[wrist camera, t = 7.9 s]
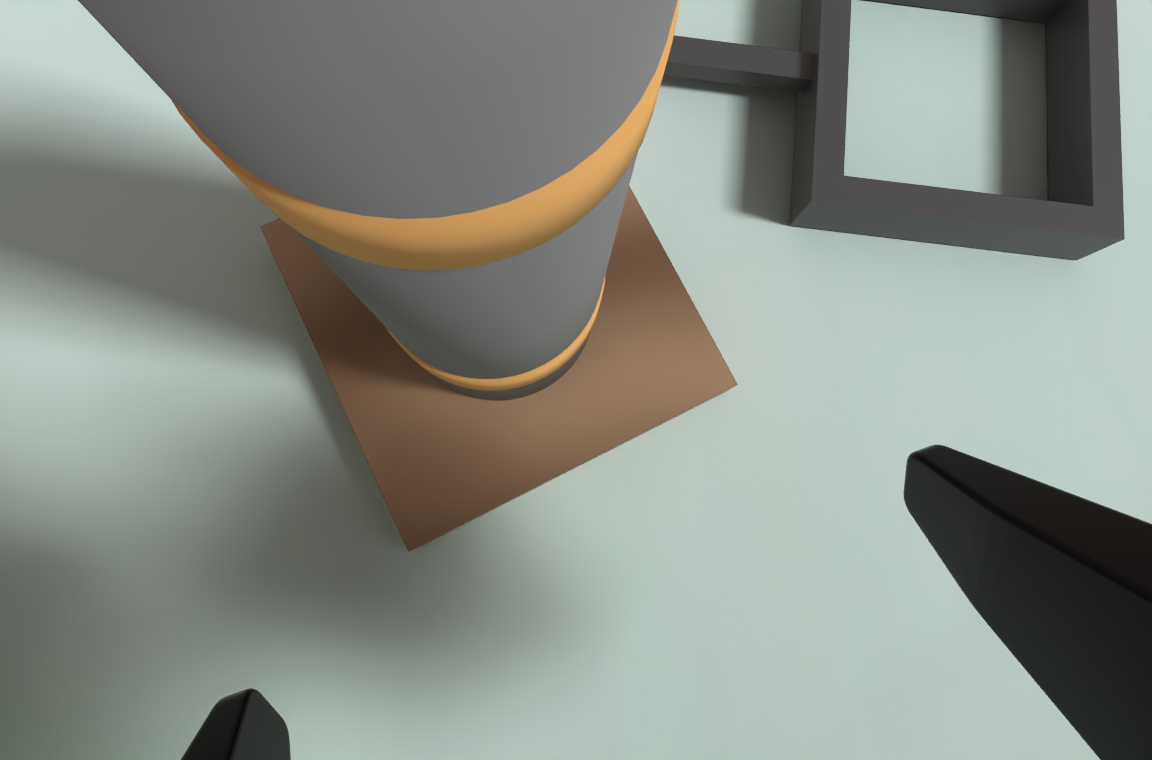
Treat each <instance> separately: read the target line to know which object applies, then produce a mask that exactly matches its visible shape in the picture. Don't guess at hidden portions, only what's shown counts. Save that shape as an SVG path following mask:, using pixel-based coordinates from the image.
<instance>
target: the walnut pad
mask: <svg viewBox="0 0 1152 760" xmlns="http://www.w3.org/2000/svg"><path fill="white" fill-rule="evenodd" d="M261 229H262V231H263V234H264V236H265V238H266V240H267V242H268V245H269V247H270V249H271V251H272V253H273V256H274V258H275V260H276V262H277V264H278V267H279V269H280V271H281V273H282V275H283V277H284V280H285V282H286V284H287V286H288V288H289V291H290V293H291V295H292V297H293V299H294V302H295V304H296V306H297V308H298V310H299V313H300V315H301V317H302V319H303V321H304V324H305V326H306V328H307V330H308V332H309V335H310V337H311V339H312V341H313V343H314V345H315V348H316V350H317V352H318V354H319V356H320V359H321V361H322V363H323V365H324V367H325V370H326V372H327V374H328V376H329V378H330V381H331V383H332V385H333V387H334V389H335V392H336V394H337V396H338V398H339V400H340V402H341V405H342V407H343V409H344V411H345V413H346V416H347V418H348V420H349V422H350V424H351V427H352V429H353V431H354V433H355V435H356V438H357V440H358V442H359V444H360V446H361V449H362V451H363V453H364V455H365V457H366V460H367V462H368V464H369V466H370V468H371V470H372V473H373V475H374V477H375V479H376V481H377V484H378V486H379V488H380V490H381V492H382V495H383V497H384V499H385V501H386V503H387V506H388V508H389V510H390V512H391V514H392V517H393V519H394V521H395V523H396V525H397V527H398V530H399V532H400V534H401V536H402V538H403V541H404V543H405V545H406V547H407V549H408V552H409V551H411V550H414V549H416V548H418V547H420V546H422V545H424V544H426V543H428V542H430V541H432V540H434V539H436V538H438V537H440V536H442V535H444V534H446V533H448V532H450V531H452V530H454V529H456V528H458V527H460V526H462V525H464V524H465V523H467V522H469V521H471V520H473V519H475V518H477V517H479V516H481V515H483V514H485V513H487V512H489V511H491V510H493V509H495V508H497V507H499V506H501V505H503V504H505V503H507V502H509V501H511V500H513V499H515V498H517V497H519V496H521V495H523V494H525V493H527V492H529V491H531V490H532V489H534V488H536V487H538V486H540V485H542V484H544V483H546V482H548V481H550V480H552V479H554V478H556V477H558V476H560V475H562V474H564V473H566V472H568V471H570V470H572V469H574V468H576V467H578V466H580V465H582V464H584V463H586V462H588V461H590V460H592V459H594V458H596V457H597V456H599V455H601V454H603V453H605V452H607V451H609V450H611V449H613V448H615V447H617V446H619V445H621V444H623V443H625V442H627V441H629V440H631V439H633V438H635V437H637V436H639V435H641V434H643V433H645V432H647V431H649V430H651V429H653V428H655V427H657V426H659V425H661V424H663V423H664V422H666V421H668V420H670V419H672V418H674V417H676V416H678V415H680V414H682V413H684V412H686V411H688V410H690V409H692V408H694V407H696V406H698V405H700V404H702V403H704V402H706V401H708V400H710V399H712V398H714V397H716V396H718V395H720V394H722V393H724V392H726V391H728V390H729V389H731V388H733V387H734V386H736V385H738V384H737V382H736V381H735V379H734V377H733V375H732V373H731V371H730V370H729V368H728V366H727V364H726V362H725V360H724V359H723V357H722V355H721V353H720V351H719V349H718V348H717V346H716V344H715V342H714V340H713V338H712V337H711V335H710V333H709V331H708V329H707V327H706V326H705V324H704V322H703V320H702V318H701V316H700V315H699V313H698V311H697V309H696V307H695V305H694V304H693V302H692V300H691V298H690V296H689V294H688V293H687V291H686V289H685V287H684V285H683V283H682V282H681V280H680V278H679V276H678V274H677V272H676V271H675V269H674V267H673V265H672V263H671V261H670V260H669V258H668V256H667V254H666V252H665V250H664V249H663V247H662V245H661V243H660V241H659V239H658V238H657V236H656V234H655V232H654V230H653V228H652V227H651V225H650V223H649V221H648V219H647V217H646V216H645V214H644V212H643V210H642V208H641V206H640V205H639V203H638V201H637V199H636V197H635V195H634V194H633V192H632V190H631V188H630V186H629V187H628V191H627V194H626V198H625V202H624V206H623V210H622V213H621V217H620V221H619V225H618V229H617V232H616V236H615V240H614V244H613V247H612V251H611V255H610V259H609V263H608V266H607V270H606V274H605V285H604V289H603V294H602V299H601V302H600V306H599V309H598V313H597V316H596V319H595V321H594V324H593V327H592V329H591V331H590V334H589V337H588V340H587V342H586V345H585V347H584V349H583V351H582V353H581V354H580V356H579V357H578V359H577V360H576V362H575V363H574V365H573V366H572V367H571V368H570V369H569V370H568V371H567V372H566V373H565V374H564V375H563V376H562V377H561V378H560V379H558V380H557V381H556V382H555V383H553V384H551V385H550V386H548V387H547V388H545V389H543V390H541V391H539V392H537V393H534V394H532V395H529V396H526V397H522V398H518V399H512V400H502V401H492V400H482V399H477V398H472V397H469V396H466V395H463V394H460V393H458V392H456V391H454V390H452V389H450V388H448V387H446V386H445V385H444V384H442V383H441V382H439V381H438V380H436V379H435V378H434V377H433V376H432V375H431V374H430V373H429V372H428V371H427V370H425V369H424V368H423V367H421V366H420V365H419V364H418V363H417V362H416V361H415V360H414V359H412V358H411V357H410V356H409V355H408V354H407V352H406V351H405V350H404V349H403V348H402V347H401V346H400V345H399V344H398V343H397V342H396V340H395V339H394V338H393V337H392V336H391V334H390V333H389V332H388V330H387V328H386V327H385V326H384V325H383V324H382V322H381V321H380V320H379V319H378V318H377V317H376V316H375V315H374V314H373V313H372V312H371V311H370V310H369V309H368V308H367V307H366V305H365V304H364V303H363V302H362V301H361V300H360V299H359V298H358V297H357V296H356V295H355V294H354V293H353V292H352V291H351V290H350V289H349V287H348V286H347V285H346V284H345V283H344V282H343V281H342V280H341V279H340V278H339V277H338V276H337V275H336V274H335V273H334V272H333V270H332V269H331V268H330V267H329V266H328V265H327V264H326V263H325V262H324V261H323V260H322V259H321V258H320V257H319V256H318V255H317V253H316V252H315V251H314V250H313V249H312V248H311V247H310V246H309V245H308V244H307V243H306V242H305V241H304V240H303V239H302V238H301V236H300V235H299V234H298V233H297V232H296V231H295V230H294V229H293V228H292V227H291V226H289V225H288V224H286V223H285V222H283V221H282V220H281V219H277V220H275V221H273V222H270V223H268V224H266V225H263V226H261Z"/></svg>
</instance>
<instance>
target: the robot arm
mask: <svg viewBox="0 0 1152 760" xmlns="http://www.w3.org/2000/svg"><path fill="white" fill-rule="evenodd" d="M904 500H905V504H906V506H907V508H908V510H909V512H910V514H911V515H912V517H913V518H914V520H915V521H916V523H917V524H918V526H919V527H920V529H921V530H922V532H923V533H924V535H925V536H926V537H927V539H928V540H929V542H930V543H931V545H932V546H933V548H934V549H935V551H936V552H937V554H938V555H939V557H940V558H941V560H942V561H943V563H944V564H945V566H946V567H947V569H948V570H949V572H950V573H951V575H952V576H953V578H954V579H955V581H956V582H957V584H958V585H959V587H960V588H961V590H962V591H963V592H964V594H965V595H966V597H967V598H968V599H969V601H970V602H971V604H972V605H973V606H974V608H975V609H976V610H977V611H978V613H979V614H980V615H981V616H982V618H983V619H984V620H985V621H986V623H987V624H988V625H989V626H990V627H991V629H992V630H993V631H994V632H995V633H996V635H997V636H998V637H999V638H1000V639H1001V641H1002V642H1003V643H1004V644H1005V645H1006V647H1007V648H1008V649H1009V650H1010V651H1011V653H1012V654H1013V655H1014V656H1015V657H1016V659H1017V660H1018V661H1019V662H1020V663H1021V665H1022V666H1023V667H1024V668H1025V669H1026V671H1027V672H1028V673H1029V674H1030V675H1031V677H1032V678H1033V679H1034V680H1035V682H1036V683H1037V684H1038V685H1039V686H1040V688H1041V689H1042V690H1043V691H1044V692H1045V694H1046V695H1047V696H1048V697H1049V698H1050V700H1051V701H1052V702H1053V703H1054V704H1055V706H1056V707H1057V708H1058V709H1059V710H1060V712H1061V713H1062V714H1063V715H1064V716H1065V718H1066V719H1067V720H1068V721H1069V722H1070V724H1071V725H1072V726H1073V727H1074V728H1075V730H1076V731H1077V732H1078V733H1079V734H1080V736H1081V737H1082V738H1083V739H1084V740H1085V742H1086V743H1087V744H1088V745H1089V746H1090V748H1091V749H1092V750H1093V751H1094V752H1095V754H1096V755H1097V756H1098V757H1099V758H1100V760H1152V524H1150V523H1148V522H1145V521H1142V520H1140V519H1137V518H1134V517H1132V516H1129V515H1126V514H1124V513H1121V512H1119V511H1116V510H1113V509H1111V508H1108V507H1105V506H1103V505H1100V504H1097V503H1095V502H1092V501H1089V500H1087V499H1084V498H1081V497H1079V496H1076V495H1073V494H1071V493H1068V492H1065V491H1063V490H1060V489H1057V488H1055V487H1052V486H1050V485H1047V484H1044V483H1042V482H1039V481H1036V480H1034V479H1031V478H1028V477H1026V476H1023V475H1020V474H1018V473H1015V472H1012V471H1010V470H1007V469H1004V468H1002V467H999V466H996V465H994V464H991V463H988V462H986V461H983V460H981V459H978V458H975V457H973V456H970V455H967V454H965V453H962V452H959V451H957V450H954V449H951V448H949V447H946V446H942V445H933V446H929V447H927V448H924V449H921V450H918V451H915V452H913V453H911V454H910V456H909V457H908V459H907V465H906V475H905V485H904ZM181 760H291V758H290V741H289V733H288V729H287V726H286V724H285V722H284V720H283V718H282V717H281V716H280V715H279V714H278V713H277V711H276V710H275V709H274V708H273V707H272V706H271V705H270V704H269V702H268V701H267V700H266V699H265V698H264V697H263V696H262V694H261V693H260V692H259V691H257V690H255V689H252V688H251V689H246V690H243V691H240V692H238V693H235V694H232V695H229V696H226V697H224V698H222V699H221V700H219V701H218V702H217V704H216V705H215V706H214V707H213V709H212V710H211V712H210V714H209V715H208V717H207V718H206V720H205V722H204V723H203V725H202V726H201V728H200V730H199V731H198V733H197V735H196V736H195V738H194V739H193V741H192V743H191V744H190V746H189V747H188V749H187V751H186V752H185V754H184V755H183V757H182V759H181Z"/></svg>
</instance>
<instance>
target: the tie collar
mask: <svg viewBox="0 0 1152 760" xmlns="http://www.w3.org/2000/svg"><path fill="white" fill-rule="evenodd" d="M870 1H878V2H885V3H893V4H901V5H909V6H917V7H924V8H932V9H940V10H948V11H955V12H963V13H971V14H979V15H987V16H994V17H1002V18H1010V19H1018V20H1026V21H1033V22H1041V23H1046V62H1047V139H1048V201H1046V200H1037V199H1029V198H1021V197H1013V196H1005V195H997V194H988V193H980V192H972V191H964V190H956V189H947V188H939V187H931V186H923V185H915V184H907V183H898V182H890V181H882V180H874V179H866V178H858V177H849V176H844V156H845V132H846V109H847V86H848V63H849V40H850V16H851V0H802V17H801V34H800V52H799V51H792V50H784V49H776V48H768V47H760V46H752V45H744V44H736V43H728V42H720V41H712V40H704V39H697V38H689V37H681V36H673V41H672V45H671V49H670V53H669V56H668V60H667V63H666V67H665V71H664V74H663V75H666V76H674V77H682V78H690V79H698V80H706V81H714V82H722V83H730V84H738V85H746V86H754V87H762V88H770V89H778V90H786V91H794V92H797V104H796V122H795V139H794V157H793V174H792V192H791V209H790V226H797V227H805V228H813V229H822V230H830V231H838V232H847V233H855V234H863V235H871V236H880V237H888V238H896V239H905V240H913V241H921V242H930V243H938V244H946V245H955V246H963V247H971V248H979V249H988V250H996V251H1004V252H1013V253H1021V254H1029V255H1038V256H1046V257H1054V258H1063V259H1071V260H1078V259H1081V258H1083V257H1085V256H1087V255H1090V254H1092V253H1094V252H1096V251H1099V250H1101V249H1103V248H1105V247H1108V246H1110V245H1112V244H1114V243H1117V242H1119V241H1121V240H1123V239H1124V213H1123V183H1122V153H1121V123H1120V93H1119V63H1118V33H1117V3H1116V0H870Z"/></svg>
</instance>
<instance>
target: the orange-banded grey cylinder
mask: <svg viewBox="0 0 1152 760" xmlns="http://www.w3.org/2000/svg"><path fill="white" fill-rule="evenodd" d="M78 1H79V2H80V3H81V4H82V5H83V6H84V7H85V8H86V9H87V10H88V11H89V12H90V14H91V15H92V16H93V17H94V18H95V19H96V20H97V21H98V22H99V23H100V24H101V25H102V26H103V27H104V28H105V29H106V31H107V32H108V33H109V34H110V35H111V36H112V37H113V38H114V39H115V40H116V41H117V42H118V43H119V44H120V45H121V46H122V48H123V49H124V50H125V51H126V52H127V53H128V54H129V55H130V56H131V57H132V58H133V59H134V60H135V61H136V62H137V63H138V65H139V66H140V67H141V68H142V69H143V70H144V71H145V72H146V73H147V74H148V75H149V76H150V77H151V78H152V79H153V80H154V81H155V83H156V84H157V85H158V86H159V87H160V88H161V89H162V90H163V91H164V92H165V93H166V94H167V95H168V96H169V97H170V98H171V100H172V102H173V103H174V105H175V106H176V108H177V110H178V111H179V113H180V114H181V116H182V117H183V118H184V119H185V121H186V122H187V123H188V124H189V125H190V127H191V128H192V129H193V130H194V131H195V133H196V134H197V135H198V136H199V137H200V139H201V140H202V141H203V142H204V143H205V144H206V145H207V146H208V147H209V148H210V149H211V150H212V151H213V152H214V153H215V154H216V155H217V157H218V158H219V159H220V160H221V161H222V162H223V163H224V164H225V165H226V166H227V167H228V168H229V169H230V170H231V171H232V172H233V173H234V174H235V175H236V176H237V177H238V178H239V179H240V180H241V181H242V182H243V183H244V185H245V186H246V187H247V188H248V189H249V190H250V191H251V192H252V193H253V194H254V195H255V196H256V197H257V198H258V199H259V200H260V201H261V202H262V203H263V204H264V205H265V206H267V207H268V208H269V209H270V210H271V211H272V212H273V213H274V214H275V215H276V216H278V217H279V218H280V219H281V220H282V221H283V222H285V223H286V224H288V225H289V226H291V227H292V228H293V229H294V230H295V231H296V232H297V233H298V234H299V235H300V236H301V238H302V239H303V240H304V241H305V242H306V243H307V244H308V245H309V246H310V247H311V248H312V249H313V250H314V251H315V252H316V253H317V255H318V256H319V257H320V258H321V259H322V260H323V261H324V262H325V263H326V264H327V265H328V266H329V267H330V268H331V269H332V270H333V272H334V273H335V274H336V275H337V276H338V277H339V278H340V279H341V280H342V281H343V282H344V283H345V284H346V285H347V286H348V287H349V289H350V290H351V291H352V292H353V293H354V294H355V295H356V296H357V297H358V298H359V299H360V300H361V301H362V302H363V303H364V304H365V305H366V307H367V308H368V309H369V310H370V311H371V312H372V313H373V314H374V315H375V316H376V317H377V318H378V319H379V320H380V321H381V322H382V324H383V325H384V326H385V327H386V328H387V330H388V332H389V333H390V334H391V336H392V337H393V338H394V339H395V340H396V342H397V343H398V344H399V345H400V346H401V347H402V348H403V349H404V350H405V351H406V352H407V354H408V355H409V356H410V357H411V358H412V359H414V360H415V361H416V362H417V363H418V364H419V365H420V366H421V367H423V368H424V369H425V370H427V371H428V372H429V373H430V374H431V375H432V376H433V377H434V378H435V379H436V380H438V381H439V382H441V383H442V384H444V385H445V386H446V387H448V388H450V389H452V390H454V391H456V392H458V393H460V394H463V395H466V396H469V397H472V398H477V399H482V400H492V401H502V400H512V399H518V398H522V397H526V396H529V395H532V394H534V393H537V392H539V391H541V390H543V389H545V388H547V387H548V386H550V385H551V384H553V383H555V382H556V381H557V380H558V379H560V378H561V377H562V376H563V375H564V374H565V373H566V372H567V371H568V370H569V369H570V368H571V367H572V366H573V365H574V363H575V362H576V360H577V359H578V357H579V356H580V354H581V353H582V351H583V349H584V347H585V345H586V342H587V340H588V337H589V334H590V331H591V329H592V327H593V324H594V321H595V319H596V316H597V313H598V309H599V306H600V302H601V299H602V294H603V289H604V285H605V274H606V270H607V266H608V263H609V259H610V255H611V251H612V247H613V244H614V240H615V236H616V232H617V229H618V225H619V221H620V217H621V213H622V210H623V206H624V202H625V198H626V194H627V191H628V187H629V183H630V179H631V175H632V172H633V168H634V164H635V160H636V157H637V153H638V150H639V148H640V146H641V144H642V142H643V139H644V137H645V134H646V131H647V128H648V126H649V123H650V120H651V117H652V114H653V110H654V107H655V103H656V100H657V96H658V92H659V89H660V85H661V81H662V78H663V74H664V71H665V67H666V63H667V60H668V56H669V53H670V49H671V45H672V41H673V36H674V31H675V26H676V22H677V17H678V7H679V0H78Z"/></svg>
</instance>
